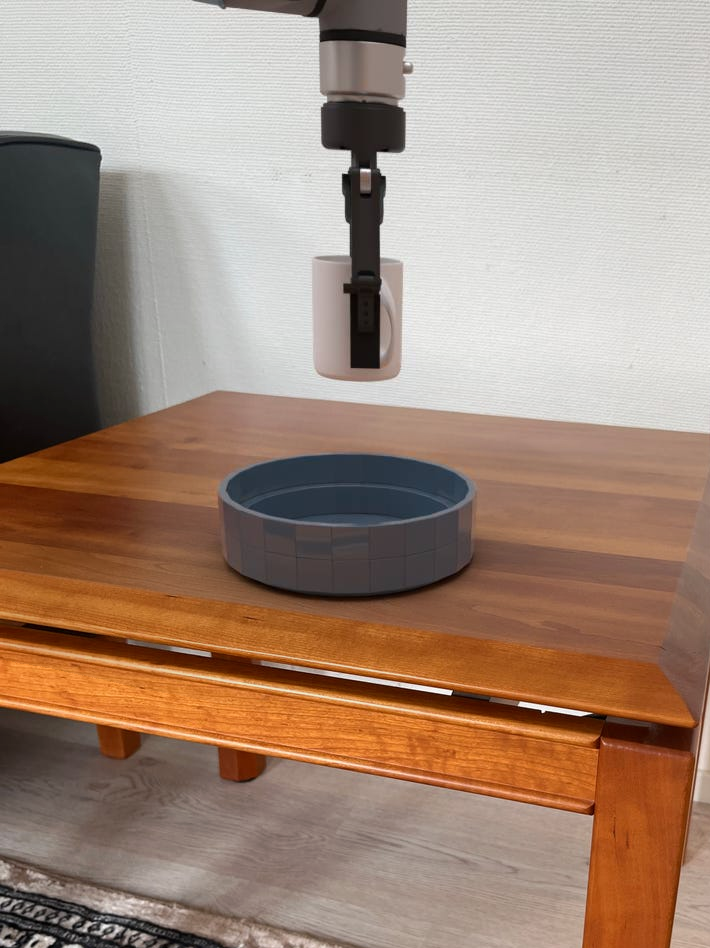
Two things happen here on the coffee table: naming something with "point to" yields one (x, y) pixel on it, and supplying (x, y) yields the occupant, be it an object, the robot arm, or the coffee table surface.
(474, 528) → the bowl
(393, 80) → the robot arm
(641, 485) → the coffee table surface
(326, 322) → the mug
